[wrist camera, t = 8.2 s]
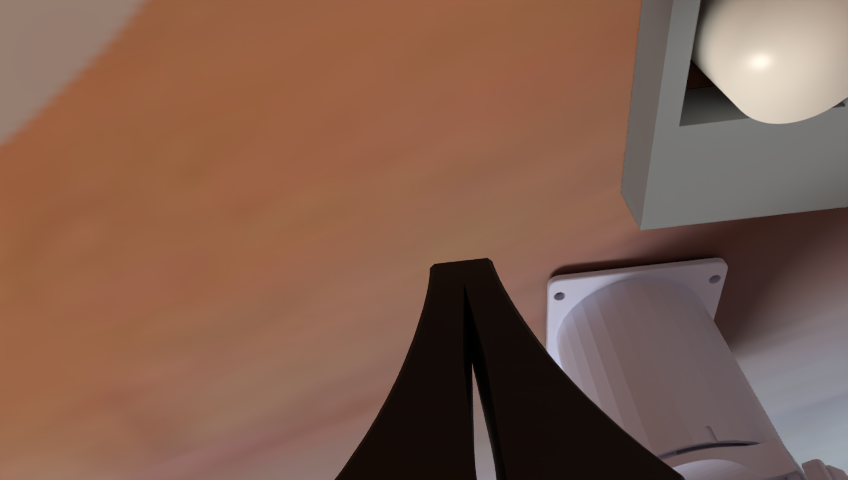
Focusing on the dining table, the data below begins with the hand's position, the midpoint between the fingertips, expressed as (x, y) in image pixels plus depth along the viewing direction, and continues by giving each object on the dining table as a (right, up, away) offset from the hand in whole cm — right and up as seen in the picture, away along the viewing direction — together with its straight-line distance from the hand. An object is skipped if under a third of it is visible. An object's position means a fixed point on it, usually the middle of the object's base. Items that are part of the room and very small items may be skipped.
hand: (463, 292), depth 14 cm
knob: (+10, +9, +6) cm, 14 cm away
